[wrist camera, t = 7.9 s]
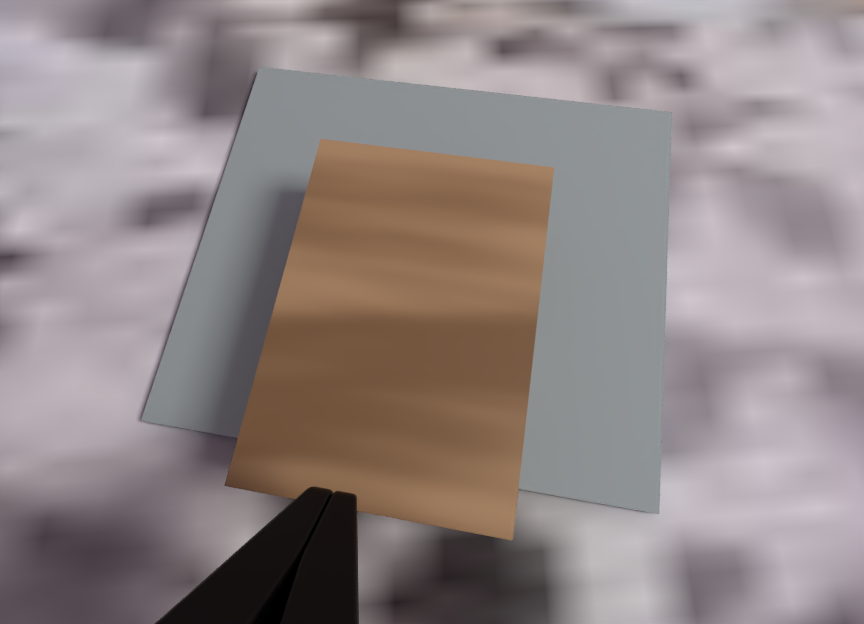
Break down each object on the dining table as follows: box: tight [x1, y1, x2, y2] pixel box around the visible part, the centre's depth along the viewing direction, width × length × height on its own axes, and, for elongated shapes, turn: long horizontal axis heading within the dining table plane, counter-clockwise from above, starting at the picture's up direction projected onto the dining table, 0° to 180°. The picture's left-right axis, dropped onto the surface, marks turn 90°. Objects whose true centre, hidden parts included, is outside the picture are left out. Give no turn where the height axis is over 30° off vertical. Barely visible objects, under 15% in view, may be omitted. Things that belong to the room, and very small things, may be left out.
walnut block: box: [225, 139, 554, 540], centre depth 14 cm, size 3×7×10 cm
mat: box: [141, 67, 672, 514], centre depth 17 cm, size 14×16×1 cm
